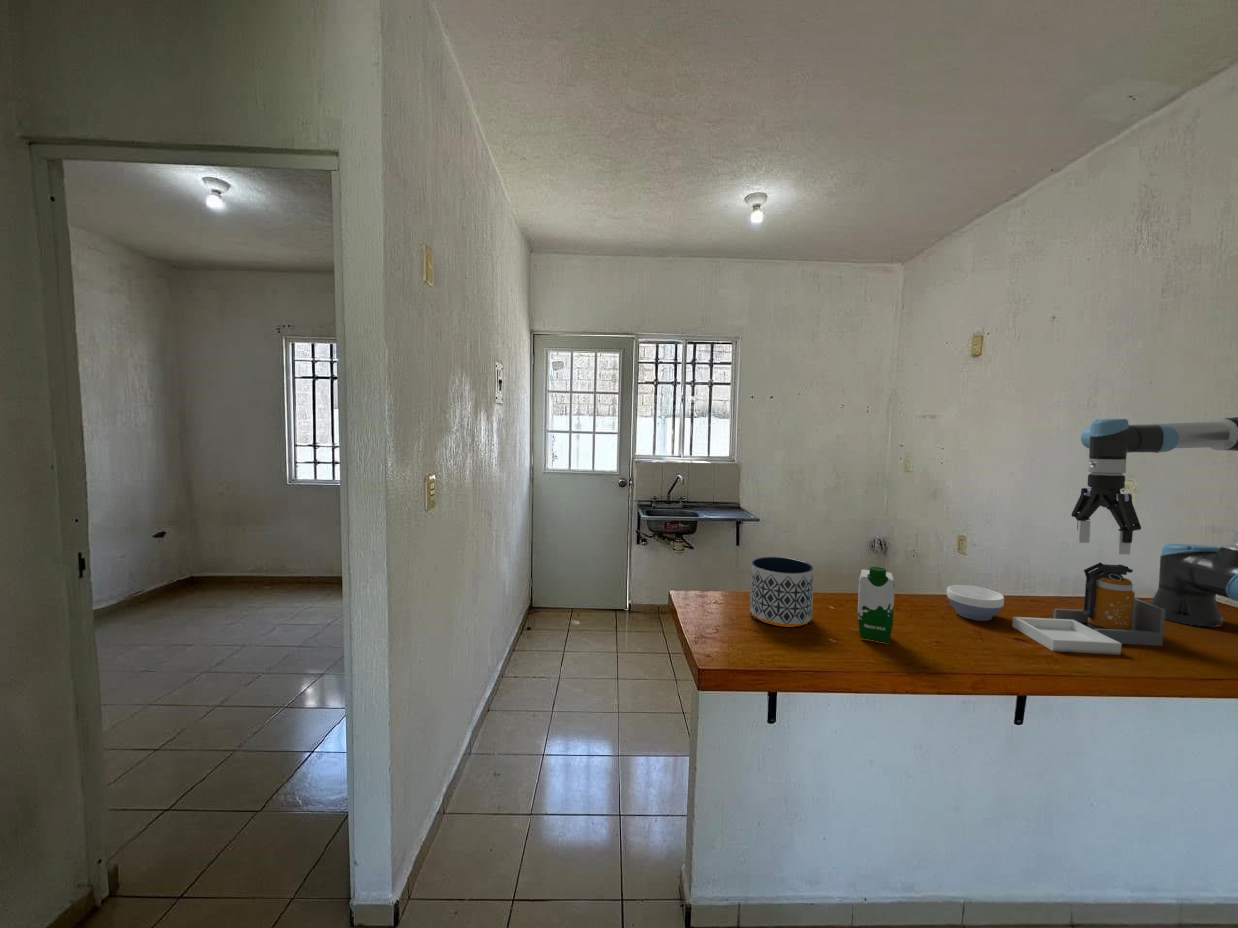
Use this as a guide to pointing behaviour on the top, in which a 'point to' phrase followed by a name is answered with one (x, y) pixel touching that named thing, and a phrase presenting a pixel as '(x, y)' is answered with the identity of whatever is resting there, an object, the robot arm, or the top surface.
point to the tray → (1066, 635)
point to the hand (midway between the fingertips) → (1102, 548)
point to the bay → (1144, 624)
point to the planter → (781, 590)
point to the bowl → (975, 602)
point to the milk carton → (876, 604)
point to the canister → (1108, 597)
